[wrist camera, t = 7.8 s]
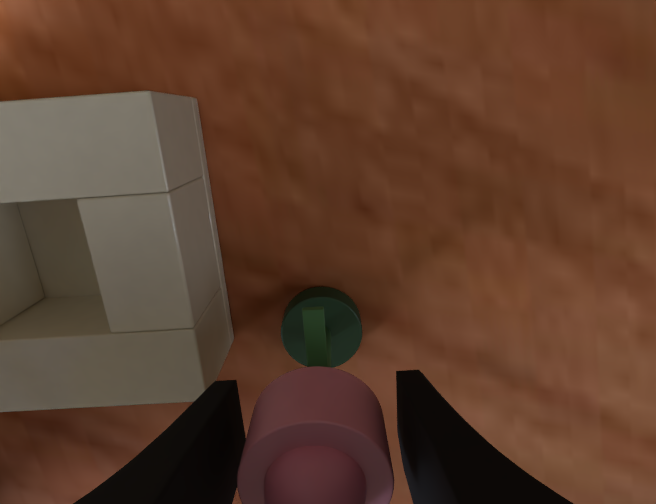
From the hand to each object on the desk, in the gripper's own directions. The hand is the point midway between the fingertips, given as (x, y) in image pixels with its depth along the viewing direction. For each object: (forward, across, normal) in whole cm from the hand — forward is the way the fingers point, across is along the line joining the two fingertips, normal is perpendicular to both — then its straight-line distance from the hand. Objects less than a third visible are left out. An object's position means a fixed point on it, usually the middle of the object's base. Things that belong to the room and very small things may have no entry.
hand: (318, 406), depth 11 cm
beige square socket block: (+5, +8, -4) cm, 10 cm away
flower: (+5, 0, 0) cm, 5 cm away
